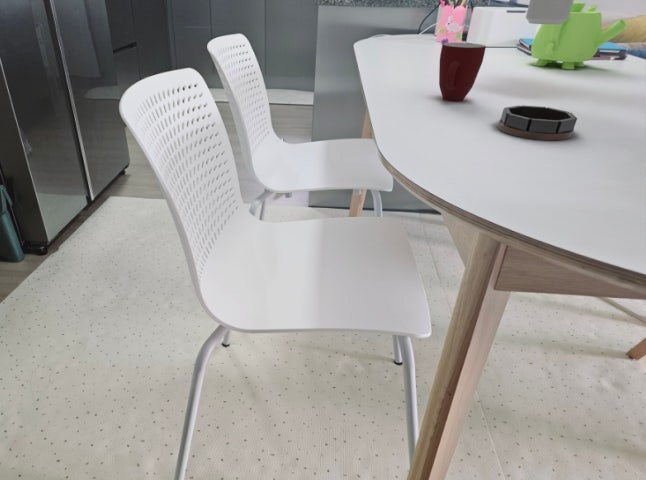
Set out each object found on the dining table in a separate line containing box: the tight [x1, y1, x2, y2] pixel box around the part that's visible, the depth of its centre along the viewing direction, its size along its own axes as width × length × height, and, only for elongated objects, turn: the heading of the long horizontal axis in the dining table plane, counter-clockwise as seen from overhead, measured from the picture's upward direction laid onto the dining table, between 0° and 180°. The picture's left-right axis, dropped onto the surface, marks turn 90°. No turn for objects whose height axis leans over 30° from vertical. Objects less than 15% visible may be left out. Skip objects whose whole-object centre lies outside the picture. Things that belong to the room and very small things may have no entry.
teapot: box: [530, 1, 628, 70], centre depth 130 cm, size 25×22×16 cm
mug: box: [438, 42, 487, 102], centre depth 92 cm, size 11×8×10 cm
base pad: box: [497, 104, 578, 141], centre depth 75 cm, size 11×11×3 cm
